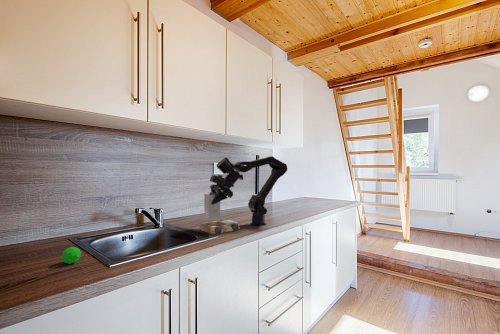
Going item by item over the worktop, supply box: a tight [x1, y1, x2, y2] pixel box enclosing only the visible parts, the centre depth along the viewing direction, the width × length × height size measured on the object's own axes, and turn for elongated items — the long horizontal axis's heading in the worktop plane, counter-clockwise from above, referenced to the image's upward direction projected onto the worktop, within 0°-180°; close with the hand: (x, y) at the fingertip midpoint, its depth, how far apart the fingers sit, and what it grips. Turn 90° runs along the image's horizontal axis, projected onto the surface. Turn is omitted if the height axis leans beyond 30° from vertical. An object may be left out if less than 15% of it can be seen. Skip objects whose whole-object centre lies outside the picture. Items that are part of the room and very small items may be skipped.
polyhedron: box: [61, 246, 82, 265], centre depth 78 cm, size 5×5×5 cm
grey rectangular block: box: [203, 191, 221, 219], centre depth 123 cm, size 6×6×12 cm
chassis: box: [199, 219, 241, 235], centre depth 124 cm, size 16×13×3 cm
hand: (209, 203), depth 123 cm, fingers closed on grey rectangular block, 6 cm apart
